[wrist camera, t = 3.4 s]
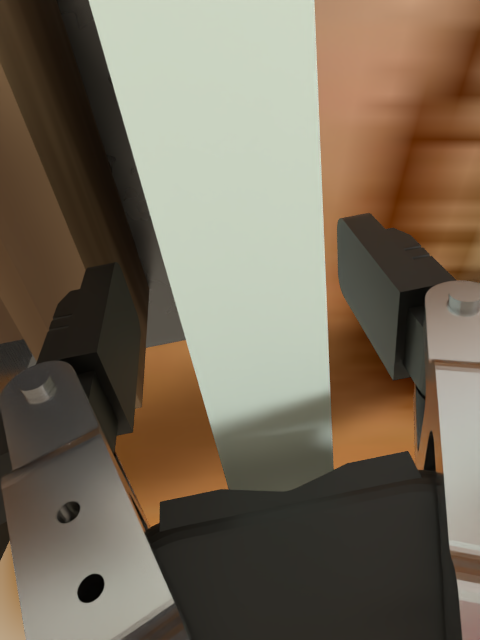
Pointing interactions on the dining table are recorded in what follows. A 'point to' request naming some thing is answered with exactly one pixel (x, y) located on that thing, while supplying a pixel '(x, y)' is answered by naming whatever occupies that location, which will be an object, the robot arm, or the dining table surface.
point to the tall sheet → (236, 213)
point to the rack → (162, 311)
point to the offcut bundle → (53, 182)
